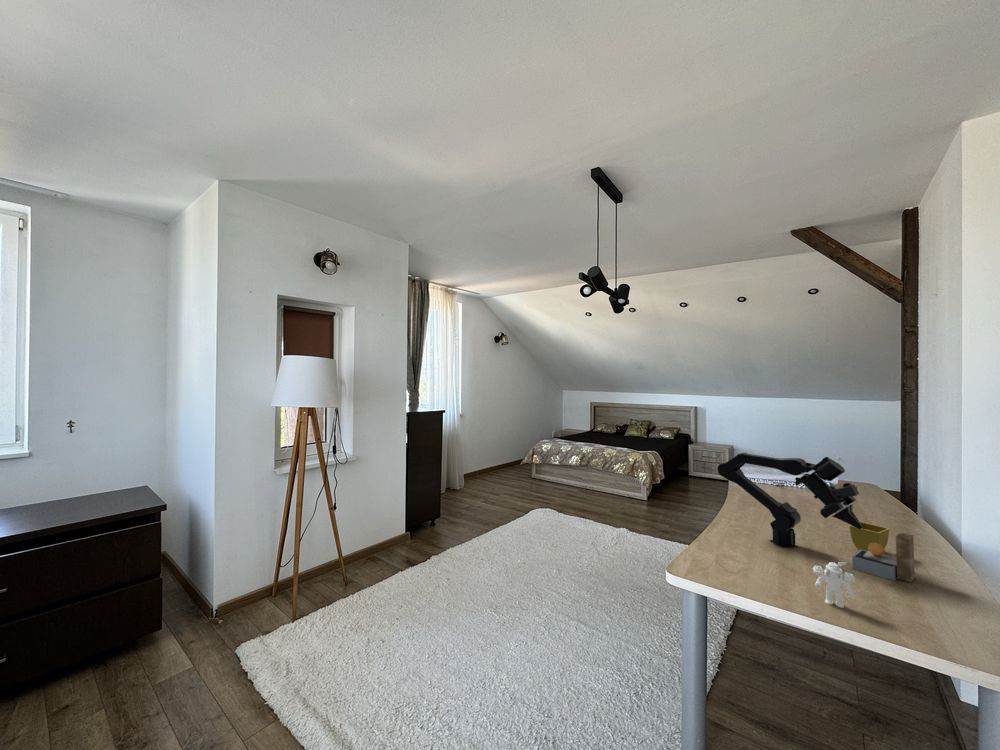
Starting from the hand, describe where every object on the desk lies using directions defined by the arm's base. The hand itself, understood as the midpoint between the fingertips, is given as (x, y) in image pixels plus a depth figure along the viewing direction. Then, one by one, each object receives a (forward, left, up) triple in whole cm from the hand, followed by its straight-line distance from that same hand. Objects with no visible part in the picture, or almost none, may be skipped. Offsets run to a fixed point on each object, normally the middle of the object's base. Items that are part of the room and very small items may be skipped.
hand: (861, 528), depth 133 cm
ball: (+2, -3, -6) cm, 7 cm away
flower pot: (+14, +12, -13) cm, 23 cm away
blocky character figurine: (-30, -22, -13) cm, 39 cm away
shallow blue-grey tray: (+2, -3, -13) cm, 13 cm away
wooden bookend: (+4, -5, -12) cm, 14 cm away
